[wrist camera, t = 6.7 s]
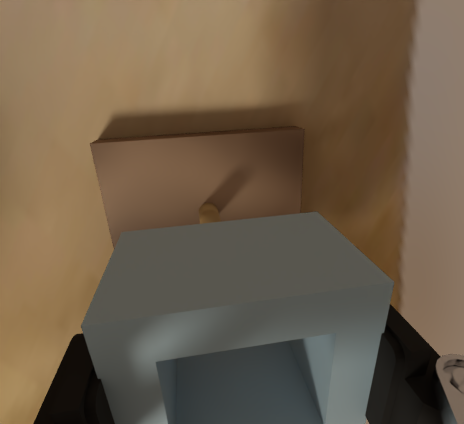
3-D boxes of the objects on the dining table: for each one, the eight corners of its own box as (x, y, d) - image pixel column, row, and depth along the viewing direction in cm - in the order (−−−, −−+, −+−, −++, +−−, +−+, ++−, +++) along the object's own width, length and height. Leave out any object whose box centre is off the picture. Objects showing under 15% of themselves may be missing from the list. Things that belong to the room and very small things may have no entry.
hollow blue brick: (300, 433, 15) (340, 547, 11) (170, 459, 14) (166, 591, 10) (317, 211, 10) (394, 281, 6) (121, 232, 9) (81, 325, 6)
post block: (289, 304, 24) (340, 405, 16) (137, 325, 22) (113, 449, 15) (295, 126, 19) (376, 150, 11) (97, 139, 17) (26, 179, 9)
